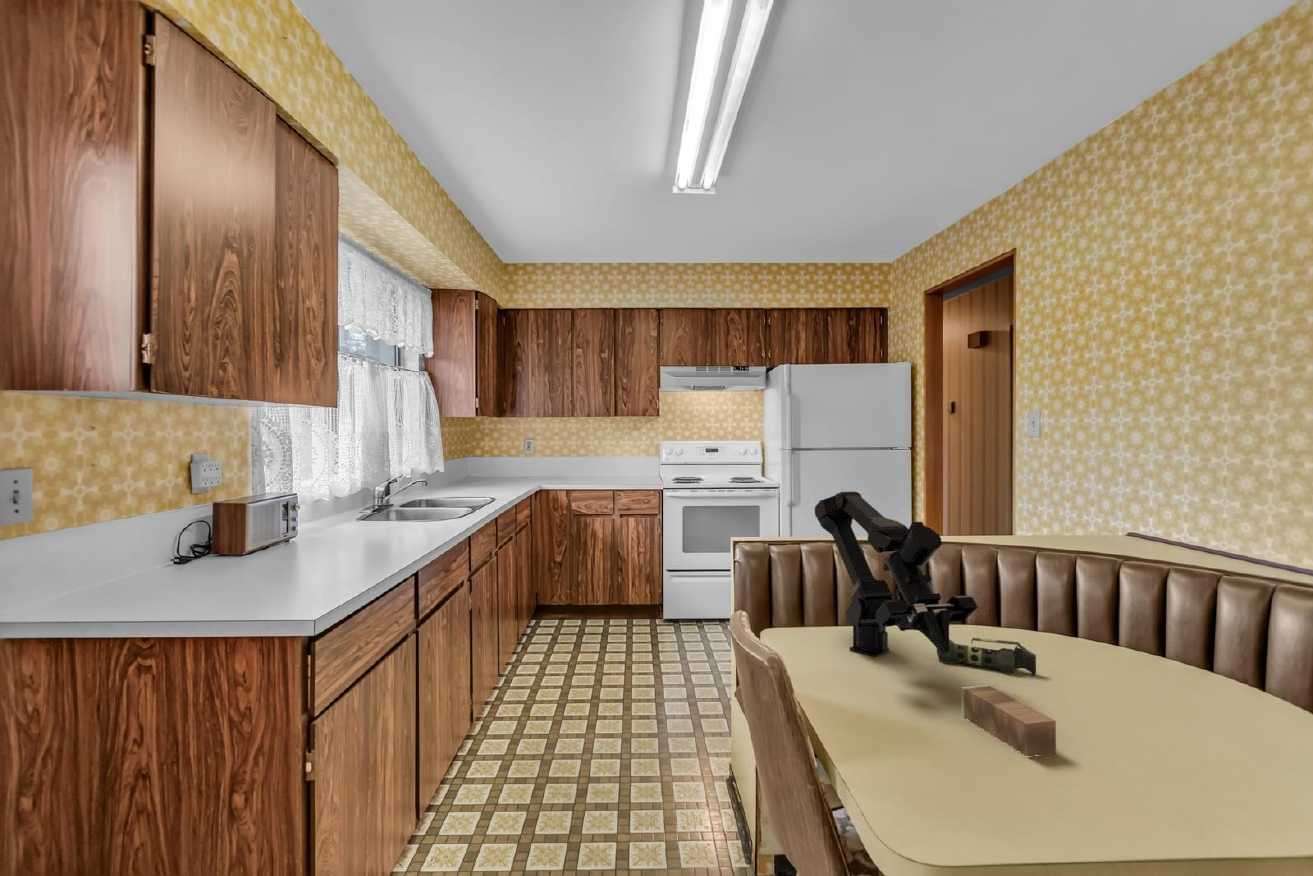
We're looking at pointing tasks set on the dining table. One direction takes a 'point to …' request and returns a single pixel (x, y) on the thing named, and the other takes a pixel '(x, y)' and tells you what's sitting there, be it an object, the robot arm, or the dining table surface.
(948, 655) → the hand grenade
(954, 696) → the dining table surface
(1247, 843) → the dining table surface
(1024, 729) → the walnut block
